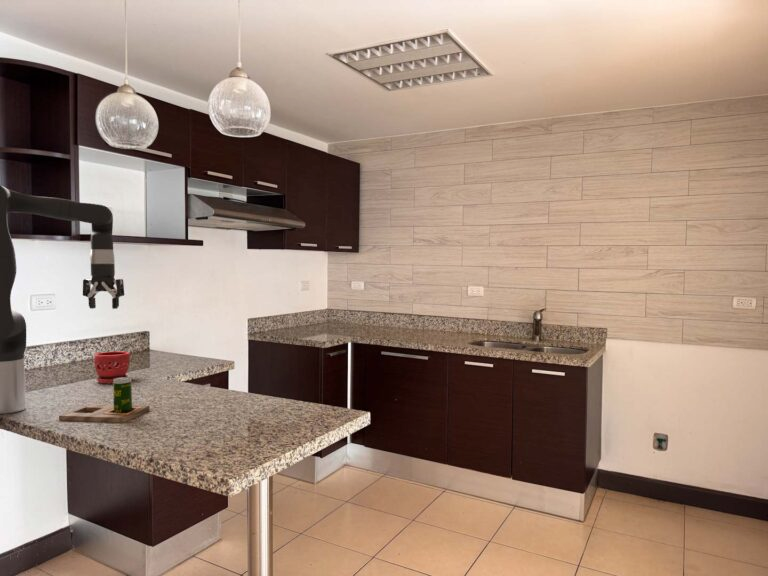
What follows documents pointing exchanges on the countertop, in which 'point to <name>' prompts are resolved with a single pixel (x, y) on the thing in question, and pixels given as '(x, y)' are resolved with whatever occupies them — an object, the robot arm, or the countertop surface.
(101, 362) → the plant pot
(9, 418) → the countertop surface
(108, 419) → the socket board
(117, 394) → the beer can
